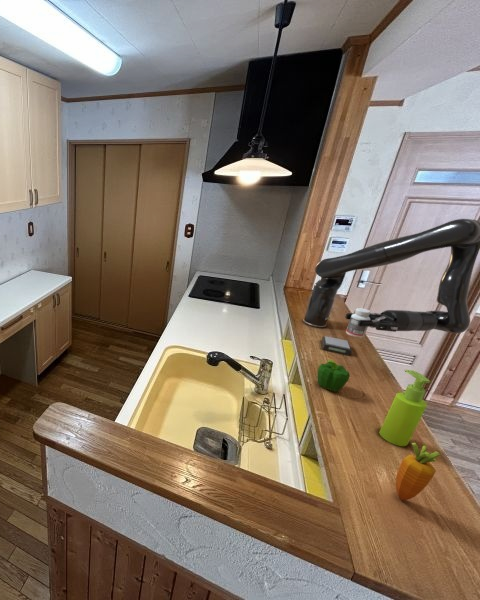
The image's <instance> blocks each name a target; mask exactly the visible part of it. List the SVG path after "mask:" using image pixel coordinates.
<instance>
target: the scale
mask: <svg viewBox="0 0 480 600" xmlns="http://www.w3.org/2000/svg"><path fill="white" fill-rule="evenodd" d="M320 342H321V346H322V350H323V351H327V352H331V353H336V354H341V355H345V356H348V357H350V356H351V354H352V348H351V345H350V341H348V340H346V339H342V338H336V337H332V336H326V335H325V336H322V338H321V340H320Z"/></svg>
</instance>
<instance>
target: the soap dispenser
mask: <svg viewBox="0 0 480 600" xmlns="http://www.w3.org/2000/svg"><path fill="white" fill-rule="evenodd" d="M404 372H405V373H407V374H409V375H410V376H412V377H414V378H415V379H414V382H413V384H412V383H411V384H408V385H407V386H406V388H405V390H404V392H397V393H396V394H395V397H394V398H393V401H392V403H391V405H390V408H389V410H388V411H387V414H386V416H385V418H384V421H383V423H382V425H381V427H380V429H379V436H380V437H381V438H382V439H384V440H385V441H386V442H388V443H390V444H392V445H395V446H399V447H406V446H408V445H409V443H410V441H411V439H412V437H413V435H414V433H415V430H416V429H417V427H418V426H419V422H420V421H421V418H422V417H423V414H425V413H424V412H425V411H426V409H427V407H428V403H427V402H426V400H424V396H425V394H426V391H427V390H426V389H425V388H424V386H425V384H430V383H431V380H430V379H429V378H427V377H426V376H424V375H423V374H421V373H419V372H418V371H415V370H413V369H411V370H410V369H404Z"/></svg>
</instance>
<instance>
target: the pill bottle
mask: <svg viewBox="0 0 480 600" xmlns="http://www.w3.org/2000/svg"><path fill="white" fill-rule="evenodd" d="M354 311H355V314H352V315H351V318H350V319H349V322H348V324H347V327H346V330H345V333H346V334H347V335H349V336H351V337H354V338H364V337H365V336H366V333H367V331H368V327H363V326H358V322H359V320H370V317H368V316H369V315H370V313H371V311H370V310H369V309H366V308H361V307H357V308H356V309H355V310H354Z"/></svg>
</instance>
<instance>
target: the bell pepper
mask: <svg viewBox="0 0 480 600" xmlns="http://www.w3.org/2000/svg"><path fill="white" fill-rule="evenodd" d="M326 361H327V362H326V363H321V364H320V365H319V366H318V368H317V375H316V376H317V377H316V378H317V384H318V386H319V387H320V388H322V389H327V390H329V391H331V392H339V391H341V390H342V389H343V388H344V387H345V386H346V384H347V383H348V381H349V379H350V371H348V370H346V368H345V366H344V365H341V364H337V362H335V361H334V360H331V359H330V360H329V359H328V360H326Z"/></svg>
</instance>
